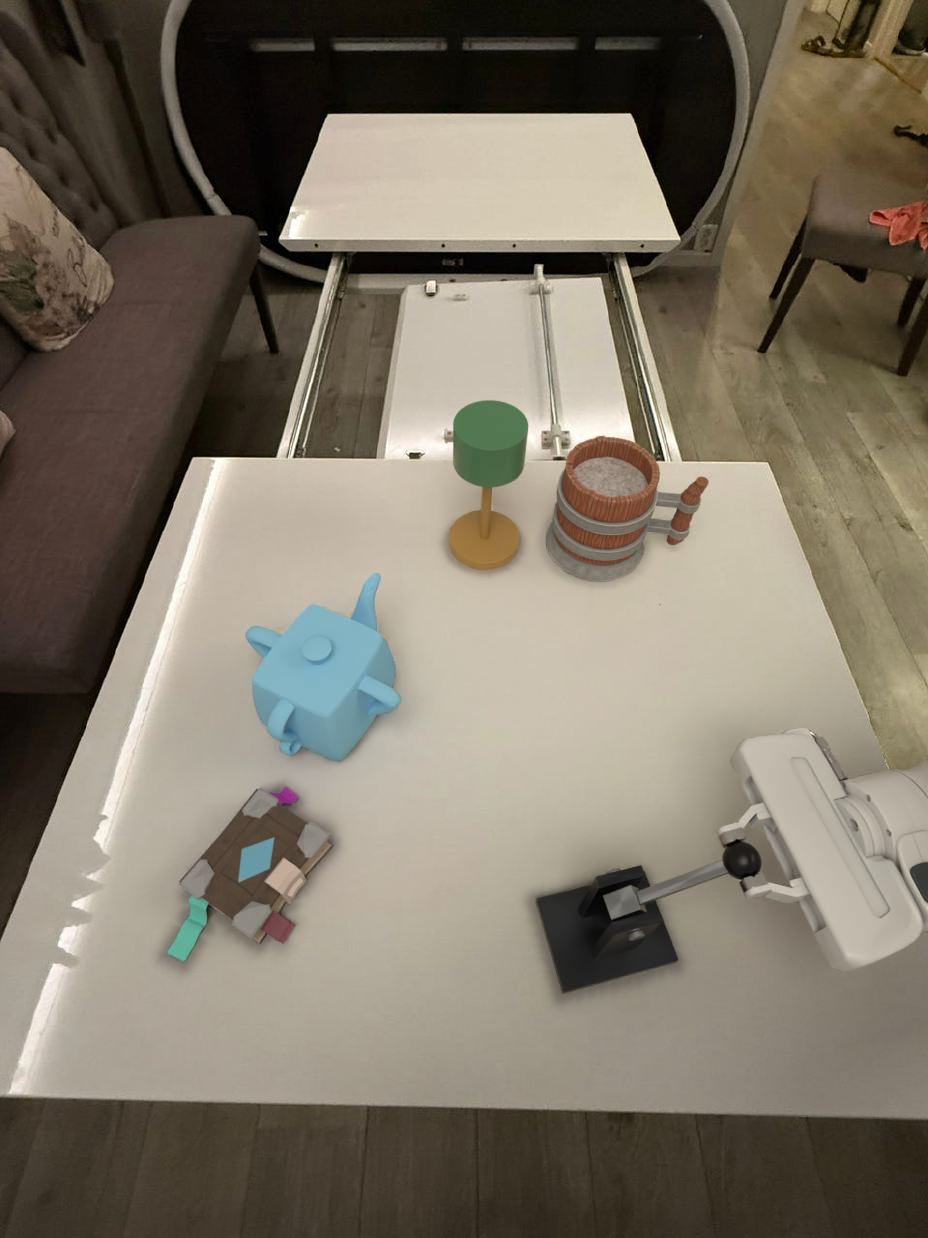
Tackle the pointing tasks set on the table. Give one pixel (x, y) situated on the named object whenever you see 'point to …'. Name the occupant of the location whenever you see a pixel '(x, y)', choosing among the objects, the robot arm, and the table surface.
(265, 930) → the book
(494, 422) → the lamp
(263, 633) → the teapot
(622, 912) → the lever
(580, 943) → the switch bracket
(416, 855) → the table surface
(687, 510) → the mug
